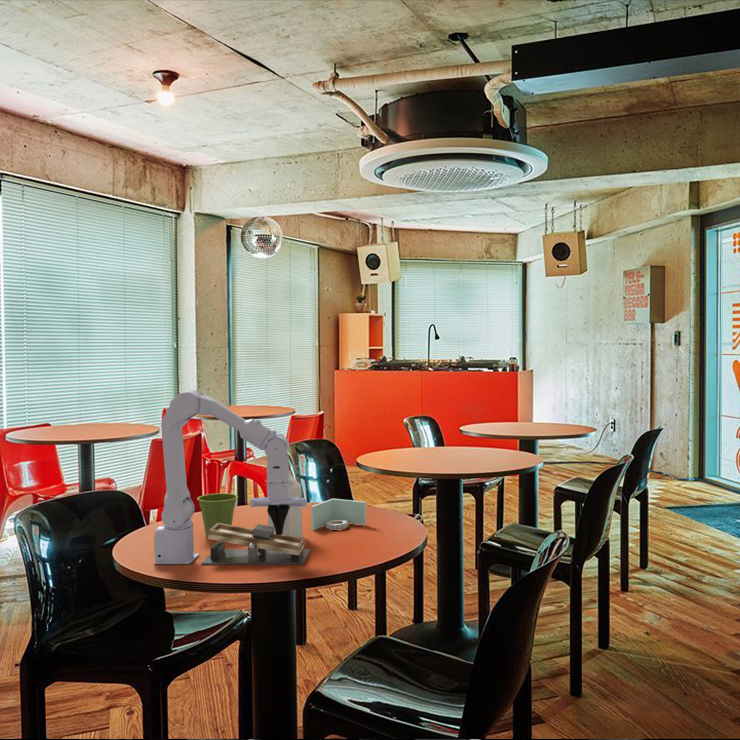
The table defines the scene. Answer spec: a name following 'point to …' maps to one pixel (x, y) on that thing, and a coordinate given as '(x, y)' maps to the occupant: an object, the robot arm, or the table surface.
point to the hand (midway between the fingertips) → (279, 534)
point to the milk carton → (292, 512)
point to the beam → (256, 539)
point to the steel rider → (263, 532)
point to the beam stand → (252, 556)
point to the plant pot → (217, 509)
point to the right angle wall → (338, 514)
